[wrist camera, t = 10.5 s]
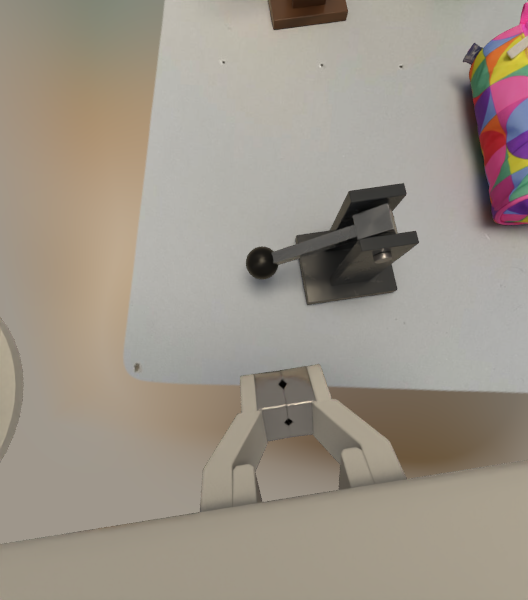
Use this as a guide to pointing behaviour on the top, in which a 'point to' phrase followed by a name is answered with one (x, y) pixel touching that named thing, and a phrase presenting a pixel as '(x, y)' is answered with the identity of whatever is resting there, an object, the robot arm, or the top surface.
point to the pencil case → (503, 119)
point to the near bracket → (356, 253)
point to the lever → (323, 241)
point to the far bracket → (306, 12)
